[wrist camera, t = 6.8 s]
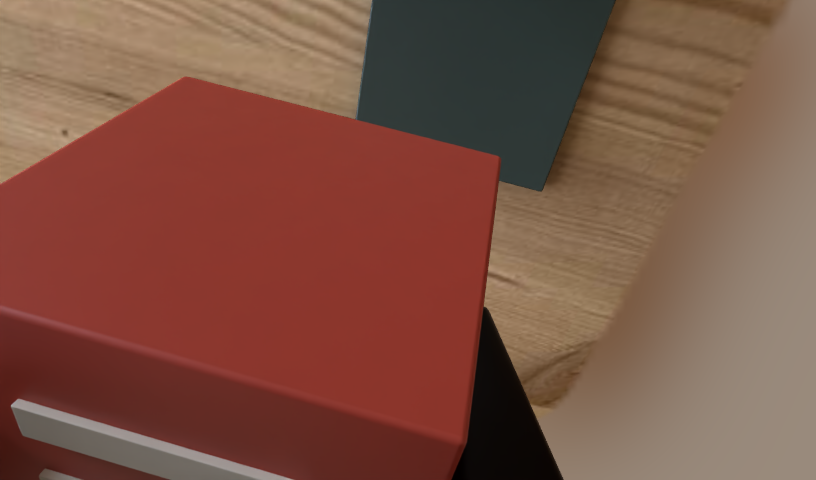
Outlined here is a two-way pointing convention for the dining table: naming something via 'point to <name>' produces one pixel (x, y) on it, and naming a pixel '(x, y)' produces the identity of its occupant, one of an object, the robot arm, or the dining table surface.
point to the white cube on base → (482, 74)
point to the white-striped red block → (242, 296)
